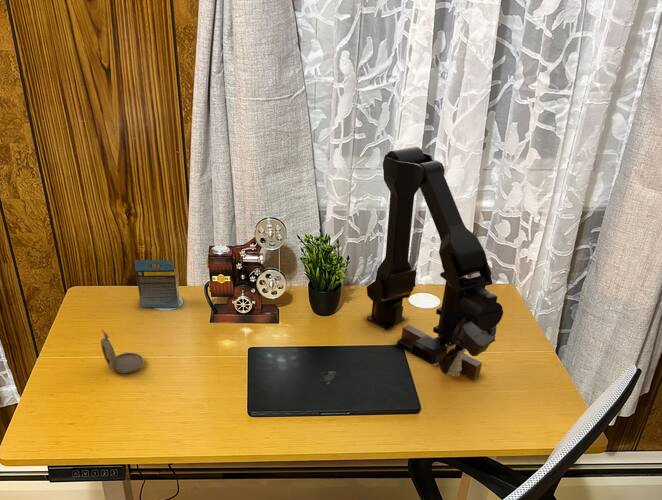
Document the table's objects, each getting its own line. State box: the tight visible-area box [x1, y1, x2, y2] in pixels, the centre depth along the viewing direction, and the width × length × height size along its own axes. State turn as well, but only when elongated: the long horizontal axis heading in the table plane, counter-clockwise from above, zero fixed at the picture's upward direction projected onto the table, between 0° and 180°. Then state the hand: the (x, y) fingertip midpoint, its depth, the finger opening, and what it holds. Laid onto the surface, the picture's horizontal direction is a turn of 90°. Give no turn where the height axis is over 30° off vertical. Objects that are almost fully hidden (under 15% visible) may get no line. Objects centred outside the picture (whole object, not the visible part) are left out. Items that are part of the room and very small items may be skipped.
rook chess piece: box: [445, 349, 467, 377], centre depth 158 cm, size 4×4×8 cm
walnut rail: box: [400, 324, 483, 380], centre depth 163 cm, size 20×2×4 cm, turn 45°
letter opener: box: [396, 337, 439, 367], centre depth 165 cm, size 11×2×1 cm, turn 45°
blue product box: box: [133, 259, 180, 309], centre depth 174 cm, size 9×4×12 cm, turn 93°
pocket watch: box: [100, 328, 144, 374], centre depth 156 cm, size 8×8×10 cm
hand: (444, 372), depth 157 cm, fingers closed, pressing on rook chess piece
